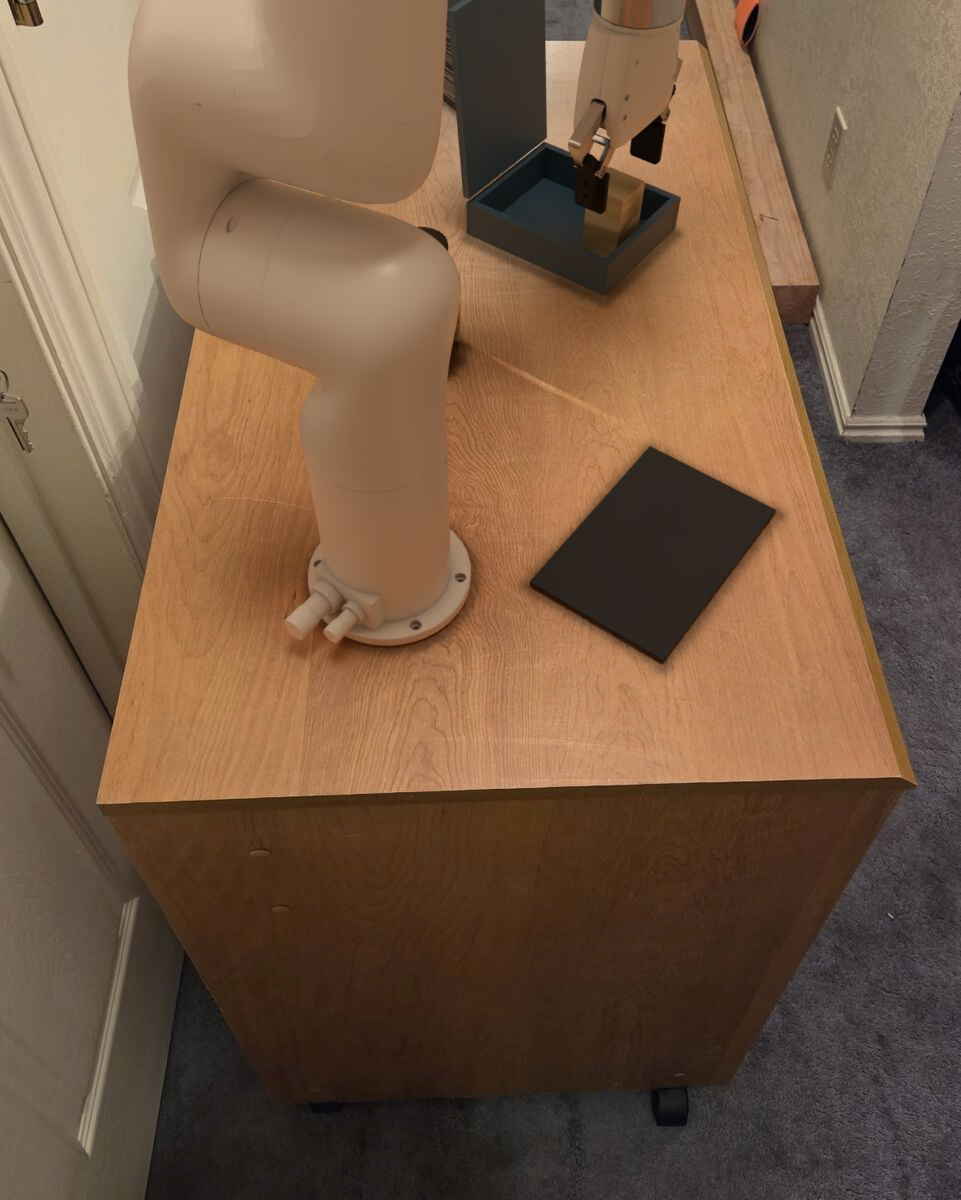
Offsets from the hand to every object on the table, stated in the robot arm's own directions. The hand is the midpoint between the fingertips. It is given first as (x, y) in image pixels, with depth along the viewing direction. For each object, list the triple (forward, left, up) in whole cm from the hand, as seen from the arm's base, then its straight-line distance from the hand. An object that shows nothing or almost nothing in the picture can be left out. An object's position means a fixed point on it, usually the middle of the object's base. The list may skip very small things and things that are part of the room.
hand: (617, 182), depth 99 cm
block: (0, 0, -7) cm, 7 cm away
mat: (-30, -24, -8) cm, 39 cm away
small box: (+15, +27, -8) cm, 32 cm away
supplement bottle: (-23, +5, -8) cm, 25 cm away
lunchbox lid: (0, +13, +6) cm, 14 cm away
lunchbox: (0, +4, -8) cm, 9 cm away
